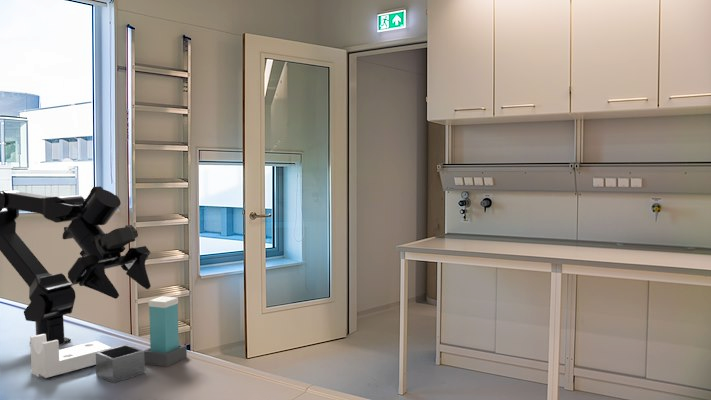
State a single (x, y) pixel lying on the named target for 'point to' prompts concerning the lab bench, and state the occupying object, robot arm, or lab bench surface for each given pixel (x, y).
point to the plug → (163, 324)
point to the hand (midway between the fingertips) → (133, 292)
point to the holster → (165, 356)
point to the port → (120, 363)
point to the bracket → (61, 356)
